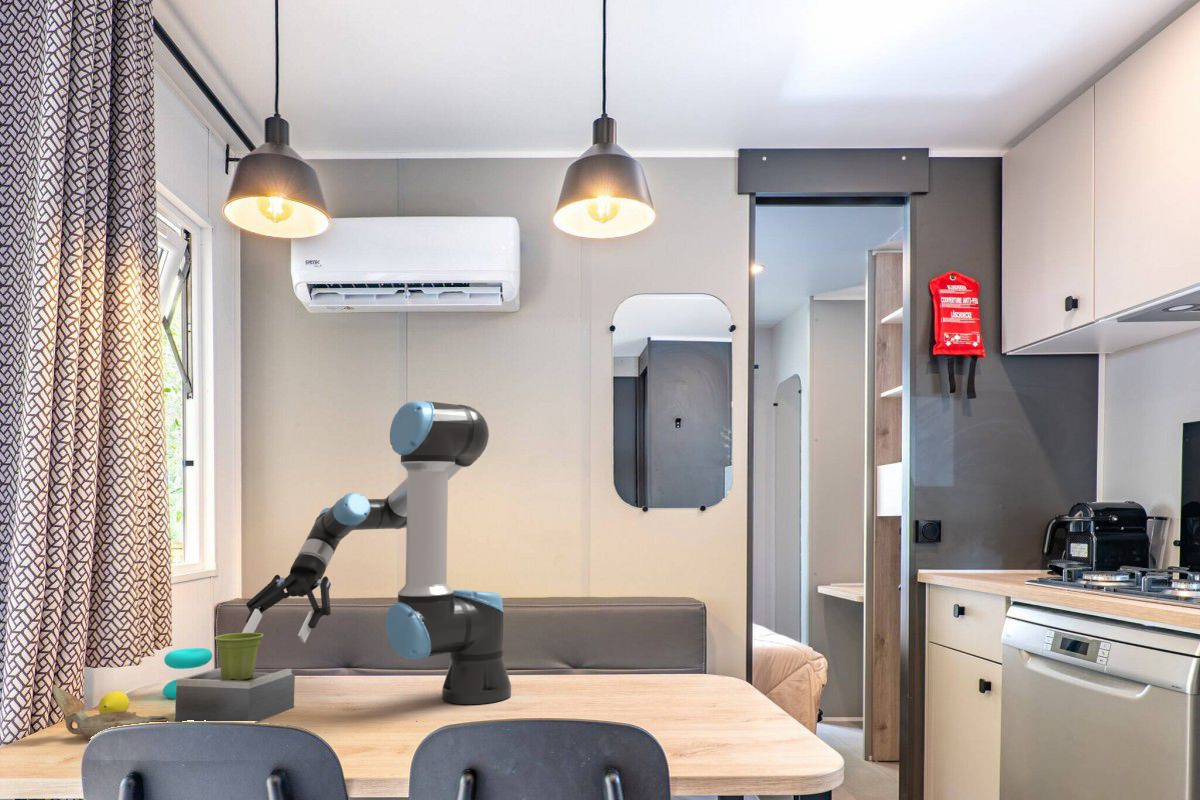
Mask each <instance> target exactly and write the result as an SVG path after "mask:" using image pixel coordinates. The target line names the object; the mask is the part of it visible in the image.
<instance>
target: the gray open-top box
mask: <svg viewBox="0 0 1200 800" xmlns="http://www.w3.org/2000/svg"><path fill="white" fill-rule="evenodd" d="M292 670H293V669H292V668H284V669H281V670H279V671H275V672H265V671H264V672H261V671H258V672H257V671H254V675H253V677H251V678H249V679H244V680H235V679H231V680H222V678H221V667H218V668H214V669H211V670H206V671H202V672H200V673H195V674H192V675H188V676H185V677H182V678H181V679H180V678H176V679H177V685H176V699H175V710H174V712H175V713H174V722H175V721H187V720H194V721H204V720H206V721H258V722H260V721H263V720H265V719H268V718H271V717H273V716H276V715H278V714H281V713H284V712H286V711H288V710H292V709H294V708H295V686H296V685H295V682H296V680H295V679H296V678H295V677H296V675H295V674H296V673H293V672H292ZM262 719H263V720H262Z"/></svg>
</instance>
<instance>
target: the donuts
mask: <svg viewBox="0 0 1200 800" xmlns="http://www.w3.org/2000/svg"><path fill="white" fill-rule="evenodd" d="M163 659H164V664H165V665H166V666H168V667H169V668H171V669H175V670H184V669H185V670H186V669H194V668H199V667H203V666H205V665H207V664H208V663H210V661H212V659H213V652H212V651H211V650H210V649H208V648H203V647H191V648H181V649H175V650H172V651H169V652H167V654H166V655H165V656H164V658H163ZM177 679H178V678H175V679H173V680H171V681H168V683H166V684H165V685H164V686H163V689H162V693H163V696H164V697H165V698H167V699H170V700H171V699H172V700H176V685H177ZM179 679H181V678H179Z"/></svg>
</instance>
